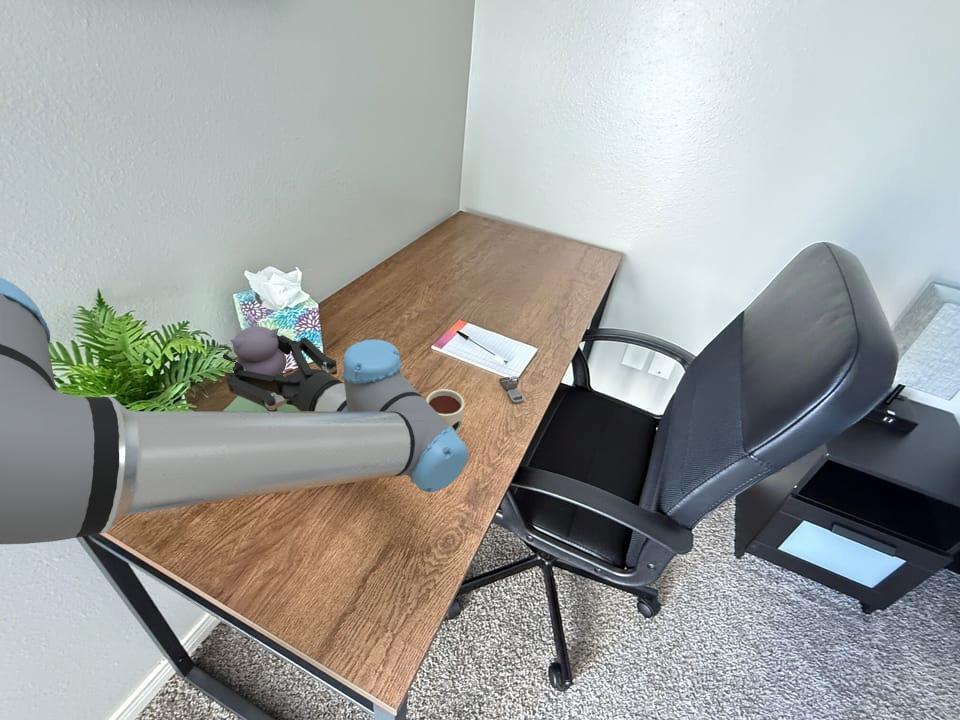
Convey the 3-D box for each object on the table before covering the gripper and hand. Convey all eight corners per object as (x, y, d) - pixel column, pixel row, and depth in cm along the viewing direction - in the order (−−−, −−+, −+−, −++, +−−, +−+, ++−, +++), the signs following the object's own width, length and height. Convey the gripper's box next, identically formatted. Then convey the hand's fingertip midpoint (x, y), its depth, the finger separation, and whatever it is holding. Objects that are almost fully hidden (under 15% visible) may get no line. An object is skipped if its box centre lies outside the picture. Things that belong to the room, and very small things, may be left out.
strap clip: (524, 402, 105) (528, 388, 103) (512, 404, 104) (515, 390, 101) (509, 378, 111) (512, 364, 109) (498, 380, 110) (500, 366, 107)
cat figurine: (281, 364, 90) (271, 312, 82) (296, 387, 85) (287, 335, 78) (234, 378, 85) (218, 325, 78) (248, 404, 81) (232, 350, 73)
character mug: (448, 475, 87) (453, 428, 79) (413, 464, 88) (415, 416, 80) (466, 435, 95) (472, 388, 87) (434, 425, 97) (437, 378, 89)
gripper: (278, 458, 70) (190, 390, 78) (377, 386, 84) (294, 336, 93) (269, 423, 65) (176, 355, 74) (376, 354, 79) (288, 304, 88)
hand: (242, 344), depth 83 cm, fingers closed on cat figurine, 8 cm apart
